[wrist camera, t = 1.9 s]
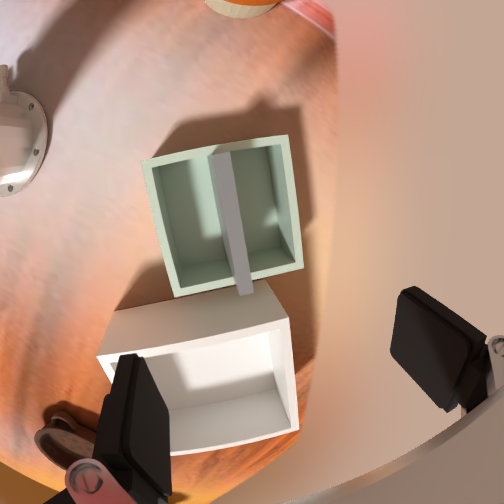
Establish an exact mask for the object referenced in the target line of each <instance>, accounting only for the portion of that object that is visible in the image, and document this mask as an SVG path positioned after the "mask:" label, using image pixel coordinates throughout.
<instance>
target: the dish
mask: <svg viewBox="0 0 504 504" xmlns="http://www.w3.org/2000/svg"><path fill="white" fill-rule="evenodd" d="M60 419H62V420H60ZM95 438H96V433H95V432H94V431H92V430H90V429H88V428H86V427H84V426H81V425H79V424H77V423H76V421H75V420H74V419H73V418H72V417H71V416H70V415H69V414H67V413H66V412H63V411H57V412H55V413H54V415H53V416H52V418H51V422H49V423H47V424H46V425H45V426H44V427H43V428H42V429H41V430H39V431H38V432H37V433H36V434H35V436H34V440H35V443H36V445H37V447H38V448H39V450H40V451H41V452H42V453H43V454H44V455H45V456H46V457H47V458H48V459H49V460H50V461H52V462H53V463H54V464H56V465H57V466H59V467H60V468H62V469H64V470H66V471H67V470H68V468H69V467H70V466H71V465H72V464H73V463H74V462H76V461H78V460H80V459H86V458H89V459H92V455H93V449H94V444H95Z"/></svg>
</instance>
